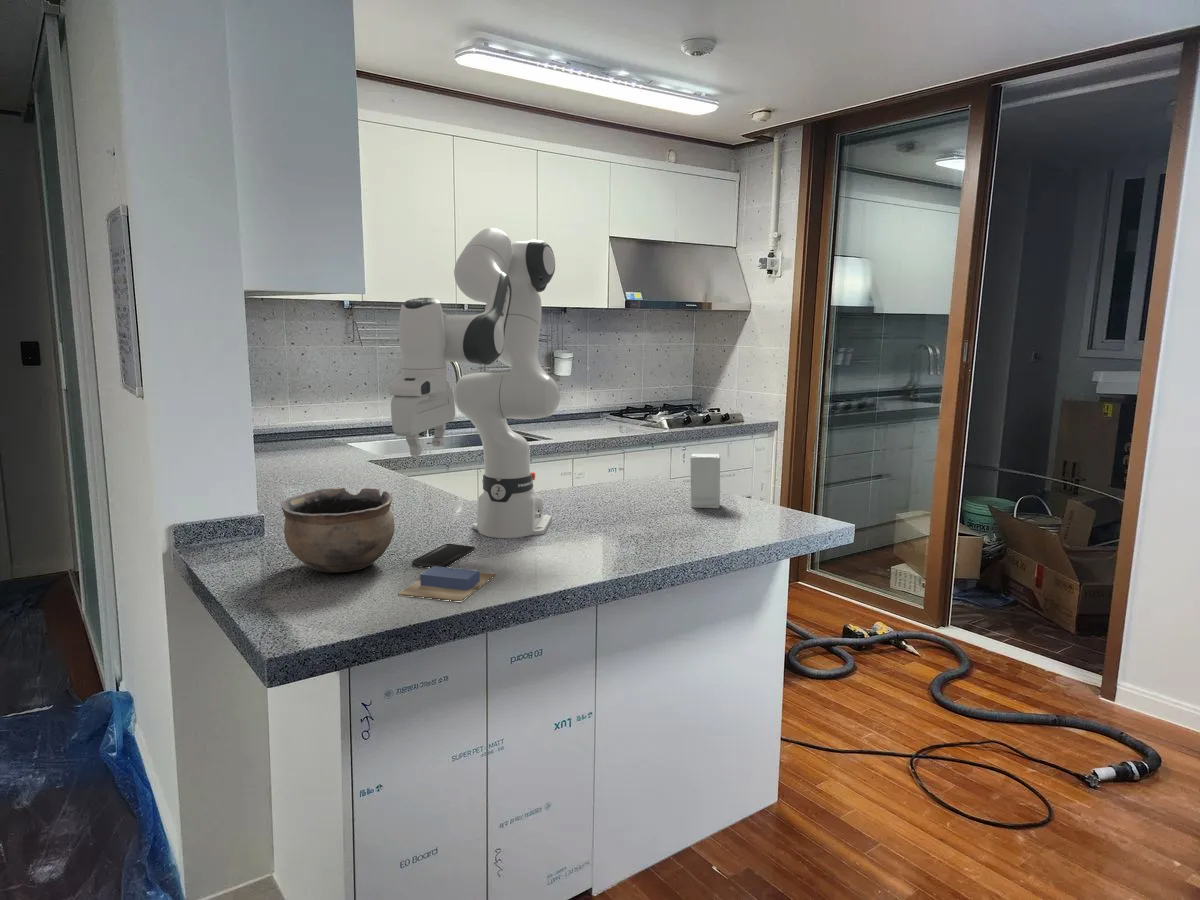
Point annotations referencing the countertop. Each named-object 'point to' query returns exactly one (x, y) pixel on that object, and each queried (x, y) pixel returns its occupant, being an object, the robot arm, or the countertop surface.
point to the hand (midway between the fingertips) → (427, 450)
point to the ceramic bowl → (338, 528)
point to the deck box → (450, 578)
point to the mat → (443, 590)
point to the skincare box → (705, 480)
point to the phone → (443, 555)
